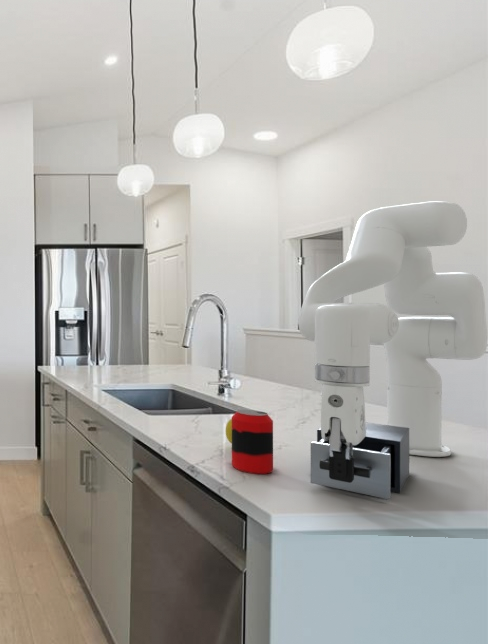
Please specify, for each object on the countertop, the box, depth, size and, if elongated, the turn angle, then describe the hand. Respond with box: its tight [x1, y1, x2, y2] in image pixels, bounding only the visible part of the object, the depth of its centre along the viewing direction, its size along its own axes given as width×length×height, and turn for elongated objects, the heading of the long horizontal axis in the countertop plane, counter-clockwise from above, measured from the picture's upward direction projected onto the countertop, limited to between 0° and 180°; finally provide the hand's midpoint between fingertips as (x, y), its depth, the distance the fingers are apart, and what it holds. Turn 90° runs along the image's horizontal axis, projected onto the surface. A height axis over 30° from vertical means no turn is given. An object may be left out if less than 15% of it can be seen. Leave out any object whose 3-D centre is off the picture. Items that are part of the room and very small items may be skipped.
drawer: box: [310, 438, 395, 500], centre depth 95 cm, size 18×11×8 cm, turn 132°
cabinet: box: [316, 421, 410, 494], centre depth 102 cm, size 15×13×10 cm
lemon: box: [225, 418, 232, 445], centre depth 122 cm, size 6×6×8 cm
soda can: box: [231, 409, 274, 475], centre depth 107 cm, size 8×8×12 cm
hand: (341, 479), depth 87 cm, fingers closed
